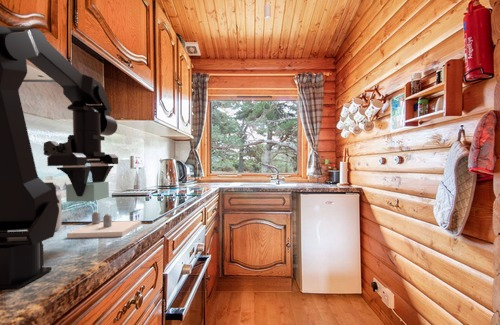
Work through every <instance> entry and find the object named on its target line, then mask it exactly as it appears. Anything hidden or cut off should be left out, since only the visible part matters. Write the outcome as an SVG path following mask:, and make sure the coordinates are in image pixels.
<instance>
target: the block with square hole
mask: <svg viewBox="0 0 500 325" xmlns="http://www.w3.org/2000/svg"><path fill="white" fill-rule="evenodd" d="M109 187H110V186H109V181H104V182H92V181H87V183H86V187H85V191H84V193H83V196H77V195H76V193H75V190H74V188H73V186H72V183H70V184H69V183H68V184H65V191H66V192H65V195H66V196H65V197H66V198H65V200H66V202H67V203H68V202H69V203H70V202H71V203H73V202H74V203H75V202H76V203H77V202H96V201H100V200H104V199H107V198H109V197H110V194H109V191H110V190H109Z"/></svg>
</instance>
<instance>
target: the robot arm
mask: <svg viewBox="0 0 500 325" xmlns="http://www.w3.org/2000/svg"><path fill="white" fill-rule="evenodd" d="M27 61H28V62H29V63H31V64H32V65H34V66H35V67H36V68H38V69H39V70H40V71H41V72H43V73H44V74H45V75H46V76H48V77H49V78H50V79H52V80H53V81H54V82H55V83H57V84H58V85H59V86H60V87H61V88H62V93H63V95H64V96H65V97H66V99H67V100H69V101H70V102H71V103H70V104H69V105H68V106H67V107H66V108H67V110H68V111H72V133H73V134H68V136H67V141H66V142H59V143H58V142H57V141H55V140H48V141H46V142H45V141H44V142H43V155H44V156H47V158H46V159H47V161H46V164H47V167H56V170H58V171H59V170H60V171H61V172H63V173H65V175H66V176H67V177H68V179H69V181H70V184H72V186H73V188H74V190H75V193H76V195H77V196H83V193H84V191H85V187H86V183H87V182H88V178H89V175H90V174H91V180H92V181H91V182H106V179H107V177H108V176H109V174H110V172H111V170H112V169H113V168H114V165H119V156H118V155H116V154H111V153H110V154H109V153H108V154H107V153H105V152H103V151H102V141H105V140H106V139H105V138H106V137H105V136H107V137H108V136H112V135H113V134H115V133H116V131H117V129H118V123H117V121H116V119H115V117H114V118H113V117H112V116H111V112H112V107H111V105H110V101H109V98H108V96H107V92H106V90H105V88H104V86H103V84H101V82H99V81H98V80H97V79H95V78H94V77H93V76H90V75H87V74H84V73H82V72H80V71H79V70H78V69H77V67H75V66H74V65H73V64H72V63H71V62H70V61H69V60H68V59H66V57H65V56H64V55H63V54H61V53H60V51H59V50H57V49H56V48H55V46H54V45H53V44H51V42H49V41H48V39H47V37H46V35H45V33H43V31H41V29H37V28H35V27H32V26H7V27H6V26H5V25H1V24H0V289H20V288H23V287H24V286H26V285H28V284H30V283H31V282H33V281H34V280H36V279H38V278H40V277H42V276H43V275H46V274H47V273H49V272H51V271H52V267H51V266H44V263H45V262H44V243H43V242H44V241H46V240H49V239H51V238H53V237H54V236H55V234H56V233H55V232H56V231H55V228H56V224H57V219H58V215H59V207H58V204H57V203H59V200H58V198H57V195H56V189H57V187H56V185H55V184H54V182H51V181H50V182H44V181H43V180H42V179H41V178H40V177H39V175H38V172H37V167H36V162H35V158H34V153H33V150H32V146H31V141H30V136H29V132H28V127H27V123H26V119H25V118H26V117H25V115H24V111H23V105H22V101H21V96H20V92H19V90H20V88H21V86H22V84H23V82H24V80H25V78H26V77H27V75H28V66H27V65H28V64H27ZM86 164H89V165H86ZM27 230H28V231H27Z"/></svg>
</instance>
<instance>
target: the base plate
mask: <svg viewBox="0 0 500 325" xmlns="http://www.w3.org/2000/svg"><path fill="white" fill-rule="evenodd" d="M112 218H113V217H112V215H111V214H108V213H106V214H104V215H103V218H102V219H103V220H102V221H101V214H100V212H99V211H94V212H93V213H92V214H91V223H89V224H87V225H85V226H82V227H79V228H77V229H75V230H73V231H70V232H67V233H66V238H67V239H77V238H78V239H79V238H111V237H125V235H127V234H129V233H130V232H132V231H134V230H135V229H137V228H139V227H140V226H142V220H130V221H129V220H126V221H125V220H124V221H123V220H120V221H119V220H118V221H117V220H115V221H112Z"/></svg>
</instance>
